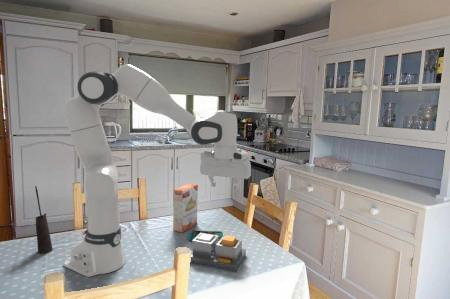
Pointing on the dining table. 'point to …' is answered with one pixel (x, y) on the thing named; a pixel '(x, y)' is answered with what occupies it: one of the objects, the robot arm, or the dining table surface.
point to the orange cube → (229, 240)
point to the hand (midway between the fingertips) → (224, 187)
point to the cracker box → (185, 207)
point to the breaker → (206, 238)
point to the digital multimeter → (196, 233)
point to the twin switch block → (217, 254)
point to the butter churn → (42, 231)
